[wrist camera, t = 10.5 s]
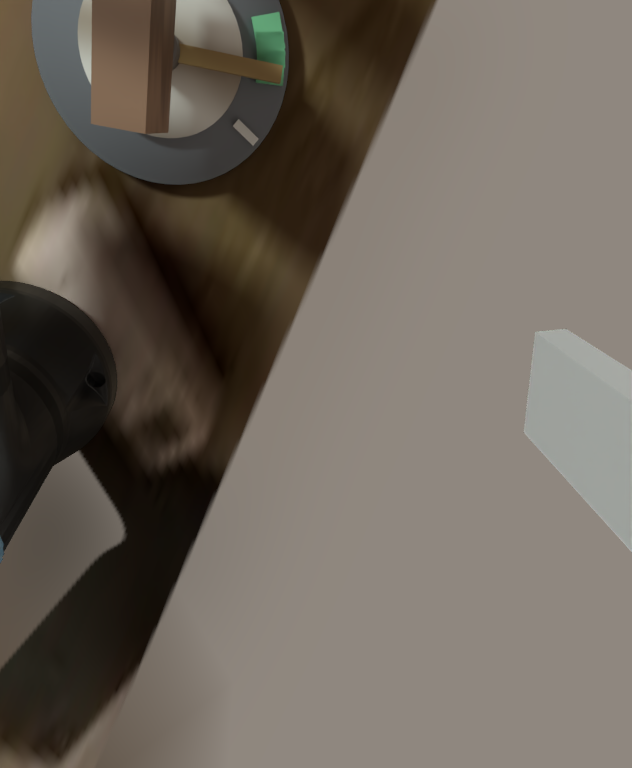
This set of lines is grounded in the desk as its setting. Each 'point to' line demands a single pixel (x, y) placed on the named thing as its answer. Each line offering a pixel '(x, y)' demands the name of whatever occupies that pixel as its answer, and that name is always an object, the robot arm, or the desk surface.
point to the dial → (163, 64)
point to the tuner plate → (155, 154)
